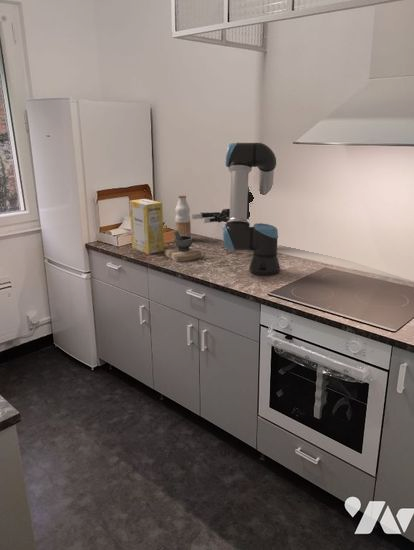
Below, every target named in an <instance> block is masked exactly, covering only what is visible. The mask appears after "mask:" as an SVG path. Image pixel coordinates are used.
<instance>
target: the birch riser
mask: <svg viewBox="0 0 414 550" xmlns="http://www.w3.org/2000/svg"><path fill="white" fill-rule="evenodd" d="M178 248H179V247H178V246H176V247H172V248H164V256H165V257H167V258H169V259H171V260H172V261H174V262H177V263H179V262H183V261H184V262H185V261H191V260H195V259H201V258H202V251H201V250H199V249H196V248H195V247H192V246H190V247H189V249H190V250H189V251H186V252H181V251H179V250H178Z"/></svg>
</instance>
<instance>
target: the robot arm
mask: <svg viewBox="0 0 414 550" xmlns="http://www.w3.org/2000/svg"><path fill="white" fill-rule="evenodd" d="M226 150H227V151H226V155H225V166H226V167H227V168H228V169H227V170H228V171H229V172H230V175H231V176H230V191H229V192H230V193H229V194H230V195H229V198H230V199H229V208H223V209H222V210H221V212H220V211H219V212H216V211H215V212H200V213H193V214H192V213H191V216H190V220H199V219H201V220H202V219H203V224H210V223H222V222H224V223H225V225H224V226H222V237H223V238H222V239H223V244H224V248H225V250H227V251H234V252H235V251H244V252H245V251H250V252H251V251H253V252H252V253H253V256H252V258H251V262H250V264H249V269H248V271H249V273H251V274H253V275H256V276H264V277H265V276H274V275H278V274H280V272H281V267H280V263H279V259H278V238H279V232H278V231H279V230H278V228H277V227H276V226H274V225H272V224H268V223H254V224H253V226H251V225H250V222H249V221H248V220H250V219H249V217H250V212H249V203H250V202H252V201H253V199H254V197H253V195H252V193H251V192H249V191H250V190H249V187H250V186H249V174H250V173H251V172H252V170H253V168H255V167H257V168H258V172H259V173H258V175H259V176H258V177H259V178H258V179H259V180H258V183H259V184H258V185H259V189H258V190H259V191H260V194H262V195H266V194H267V193H268V192H269V191H270V190H271V188H272V185H273V186H274V177H275V176H274V174H275V173H274V171H275V169H276V167H277V157H276V155H275V153H274V151H273V150H272V149H271V147H269V146H268V145H266V144H264V143H262V142H232V143H229V145H228V147H227V148H226ZM250 204H251V203H250ZM247 219H248V220H247Z"/></svg>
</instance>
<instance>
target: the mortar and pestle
mask: <svg viewBox="0 0 414 550" xmlns="http://www.w3.org/2000/svg"><path fill="white" fill-rule="evenodd" d="M173 234H174V235H175V237H174V243H175V245H176V247H179V248H178V250H179V251H181V252H186V251H189V250H190V249H189V247H192V245H193V240H194V239H193V237H192V236H191V237H189V236H180V234H179V233H178V230H176V229H174V230H173Z"/></svg>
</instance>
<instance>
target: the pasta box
mask: <svg viewBox="0 0 414 550" xmlns="http://www.w3.org/2000/svg"><path fill="white" fill-rule="evenodd" d="M128 203H129V216H130V218H129V219H130V231H131V248H133V249H135V250H138V251H140V252H142V253H145V254H147V255H149V254H150V255H151V254H155V253H160V252H165V246H164V245H165V243H164V239H165V238H164V218H163V202H161V201H156V200H152V199H148V198H141V199H139V198H138V199H133V200H129V202H128Z"/></svg>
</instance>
